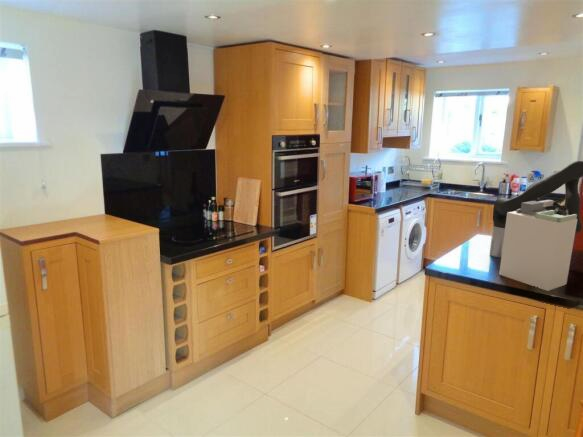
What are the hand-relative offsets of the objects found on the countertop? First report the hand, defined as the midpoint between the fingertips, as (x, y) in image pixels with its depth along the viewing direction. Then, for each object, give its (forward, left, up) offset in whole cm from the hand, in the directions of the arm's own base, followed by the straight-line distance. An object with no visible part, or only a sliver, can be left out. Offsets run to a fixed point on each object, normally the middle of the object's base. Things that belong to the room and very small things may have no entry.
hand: (545, 201), depth 210 cm
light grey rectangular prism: (-3, -5, -5) cm, 7 cm away
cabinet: (-3, -14, -37) cm, 39 cm away
